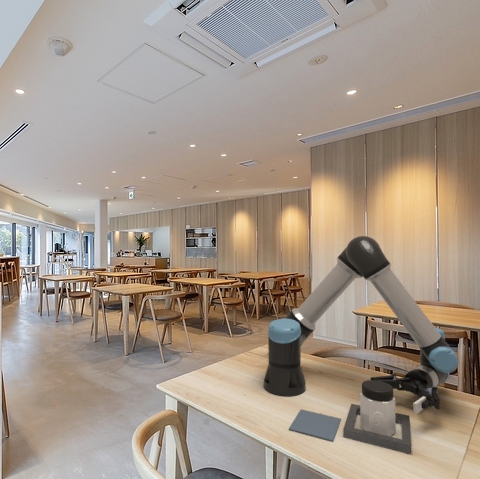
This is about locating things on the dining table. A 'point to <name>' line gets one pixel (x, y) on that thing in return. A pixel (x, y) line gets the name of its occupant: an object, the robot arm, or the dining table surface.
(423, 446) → the dining table surface
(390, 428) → the jar
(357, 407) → the frame
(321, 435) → the mat
